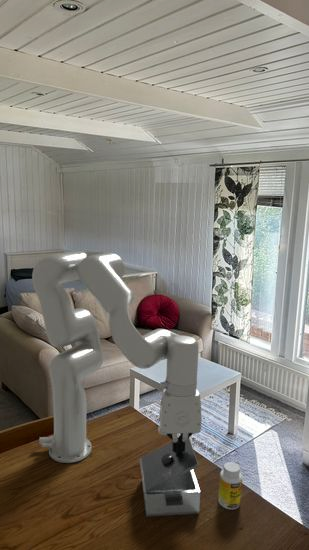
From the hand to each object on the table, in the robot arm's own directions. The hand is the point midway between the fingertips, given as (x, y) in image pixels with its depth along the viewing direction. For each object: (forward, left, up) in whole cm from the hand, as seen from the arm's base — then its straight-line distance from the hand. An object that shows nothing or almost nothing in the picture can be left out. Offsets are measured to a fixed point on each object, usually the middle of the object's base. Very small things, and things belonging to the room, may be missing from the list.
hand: (178, 453), depth 104 cm
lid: (-3, 0, -3) cm, 4 cm away
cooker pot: (-2, 0, -12) cm, 12 cm away
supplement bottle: (+13, -4, -12) cm, 18 cm away
